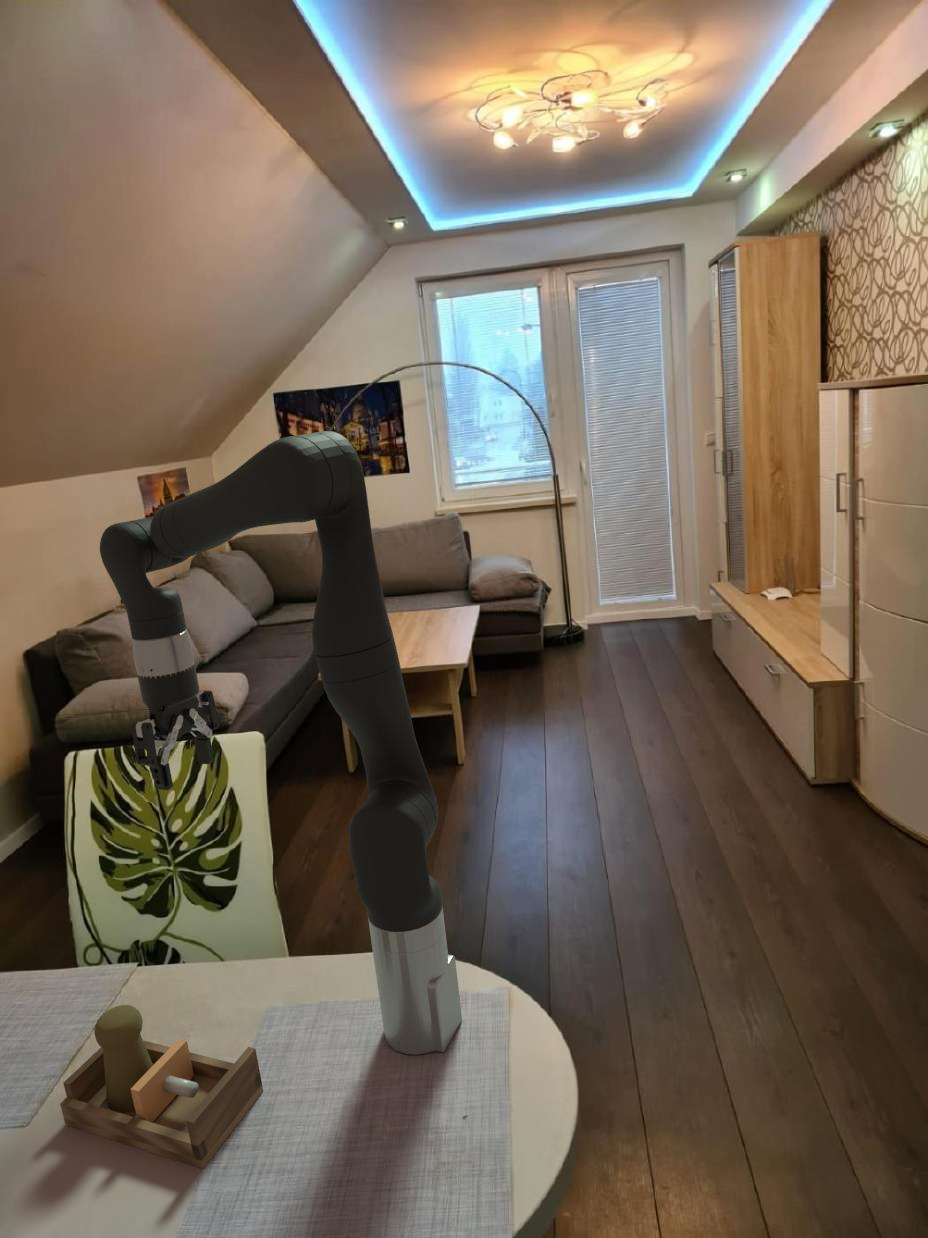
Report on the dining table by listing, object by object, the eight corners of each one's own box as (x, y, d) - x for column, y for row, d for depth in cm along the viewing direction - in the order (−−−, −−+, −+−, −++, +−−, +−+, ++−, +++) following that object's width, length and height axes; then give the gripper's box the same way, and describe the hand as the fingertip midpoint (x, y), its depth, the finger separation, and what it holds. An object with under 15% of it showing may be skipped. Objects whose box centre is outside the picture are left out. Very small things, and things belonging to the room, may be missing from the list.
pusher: (219, 1082, 100) (212, 1047, 99) (173, 1136, 93) (165, 1099, 92) (186, 1073, 102) (178, 1038, 101) (138, 1126, 95) (130, 1089, 94)
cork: (141, 1116, 97) (123, 1035, 94) (96, 1111, 98) (76, 1031, 96) (170, 1075, 102) (153, 998, 100) (126, 1071, 104) (108, 995, 101)
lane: (263, 1091, 100) (255, 1048, 99) (203, 1169, 90) (193, 1123, 89) (133, 1056, 108) (124, 1017, 106) (65, 1125, 98) (54, 1082, 96)
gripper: (150, 683, 106) (173, 800, 110) (220, 650, 119) (239, 756, 123) (105, 681, 109) (129, 796, 113) (178, 649, 122) (198, 753, 126)
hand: (186, 775), depth 118 cm, fingers open, 8 cm apart
